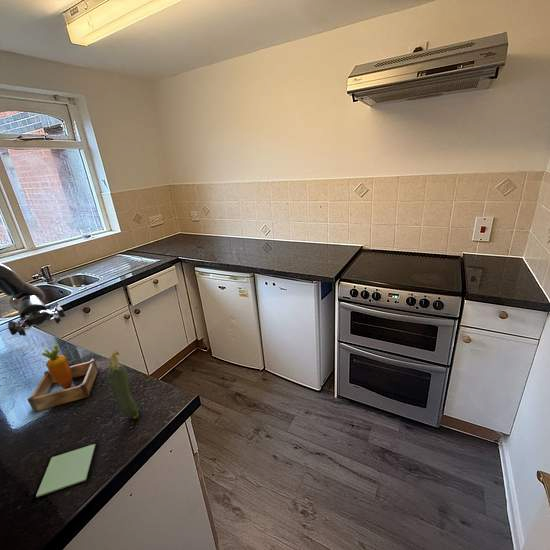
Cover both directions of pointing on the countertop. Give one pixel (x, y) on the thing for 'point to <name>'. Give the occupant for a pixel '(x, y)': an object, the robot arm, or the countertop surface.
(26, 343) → the countertop surface
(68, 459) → the mat
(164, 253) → the countertop surface
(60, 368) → the carrot
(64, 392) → the crate
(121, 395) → the vegetable
